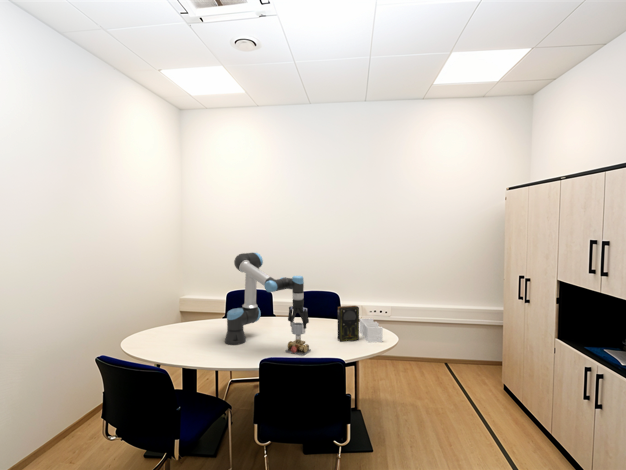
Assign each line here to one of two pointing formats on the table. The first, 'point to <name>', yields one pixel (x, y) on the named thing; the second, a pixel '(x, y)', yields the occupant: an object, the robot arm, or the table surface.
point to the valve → (298, 346)
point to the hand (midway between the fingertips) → (298, 332)
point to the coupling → (297, 328)
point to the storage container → (371, 330)
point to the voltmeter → (348, 323)
